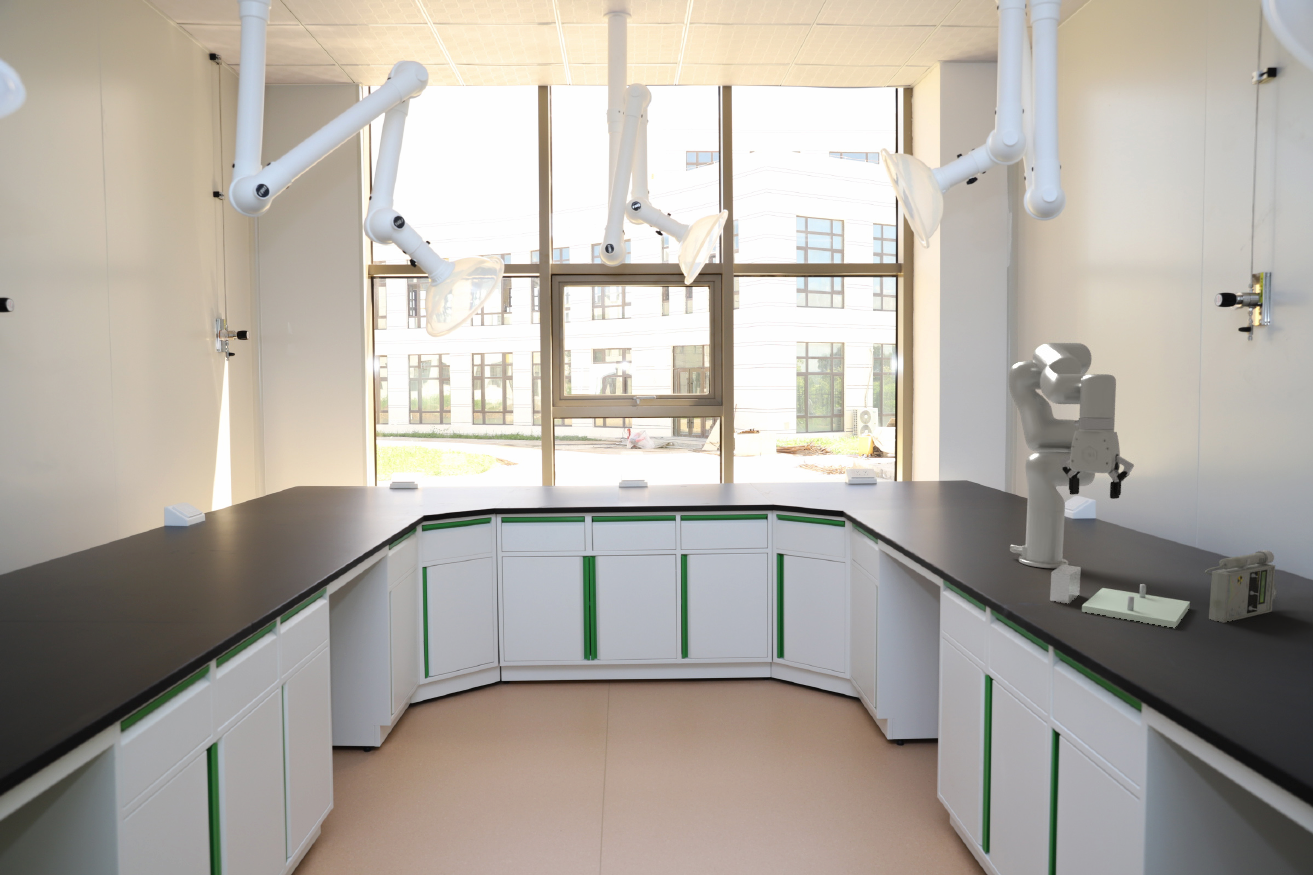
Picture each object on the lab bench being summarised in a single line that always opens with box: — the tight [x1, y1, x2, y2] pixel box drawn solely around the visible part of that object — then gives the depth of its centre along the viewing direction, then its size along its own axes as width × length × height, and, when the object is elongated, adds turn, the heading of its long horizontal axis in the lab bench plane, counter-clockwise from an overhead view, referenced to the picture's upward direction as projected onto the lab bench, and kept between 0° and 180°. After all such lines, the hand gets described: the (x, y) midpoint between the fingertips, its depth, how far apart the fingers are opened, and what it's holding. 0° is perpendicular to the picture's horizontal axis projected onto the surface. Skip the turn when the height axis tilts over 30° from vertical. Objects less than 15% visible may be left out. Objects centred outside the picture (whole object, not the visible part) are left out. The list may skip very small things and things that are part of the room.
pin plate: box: [1081, 583, 1191, 629], centre depth 188 cm, size 18×20×4 cm
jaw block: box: [1049, 564, 1082, 605], centre depth 197 cm, size 4×10×7 cm, turn 140°
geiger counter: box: [1204, 549, 1278, 624], centre depth 186 cm, size 14×6×25 cm
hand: (1094, 496), depth 200 cm, fingers open, 9 cm apart
